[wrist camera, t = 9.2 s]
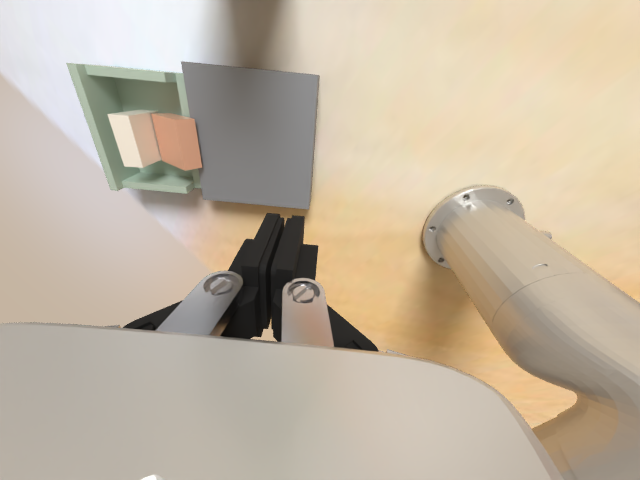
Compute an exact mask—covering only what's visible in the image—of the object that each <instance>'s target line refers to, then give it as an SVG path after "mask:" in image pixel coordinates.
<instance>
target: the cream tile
mask: <svg viewBox="0 0 640 480" xmlns="http://www.w3.org/2000/svg"><path fill="white" fill-rule="evenodd" d="M151 113H159V112H158V111H153V110H133V111H126V112H119V113H112V114H107V115H108V118H109V121H110V124H111V127H112V130H113V133H114V136H115V139H116V142H117V146H118V149H119V152H120V155H121V158H122V161H123V164H124V166H125V167H138V168H144V167H146V166H148V165H151V164H153V163H155V162H157V161H160V160H162V158H161V154H160V150H159V145H158V141H157V137H156V133H155V128H154V124H153V120H152V116H151Z"/></svg>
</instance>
